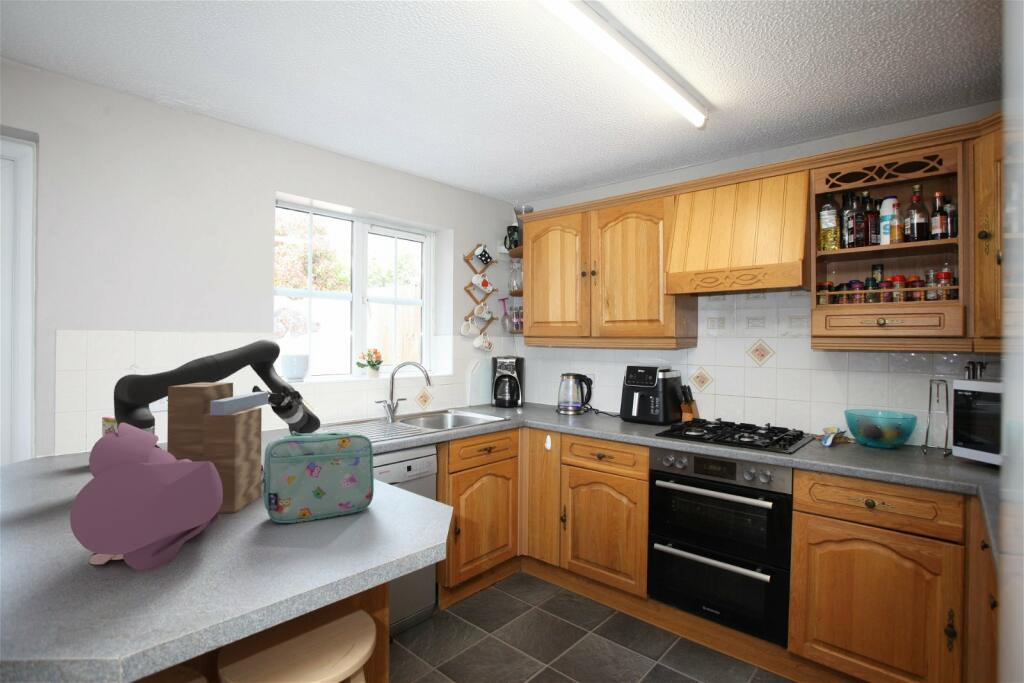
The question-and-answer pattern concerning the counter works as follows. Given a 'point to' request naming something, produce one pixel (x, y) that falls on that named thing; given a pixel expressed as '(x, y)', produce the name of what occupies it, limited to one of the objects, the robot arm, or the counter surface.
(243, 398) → the rail
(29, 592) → the counter surface
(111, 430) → the candy bar box
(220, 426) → the stand
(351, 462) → the lunch box
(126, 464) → the mauve lumpy blob
